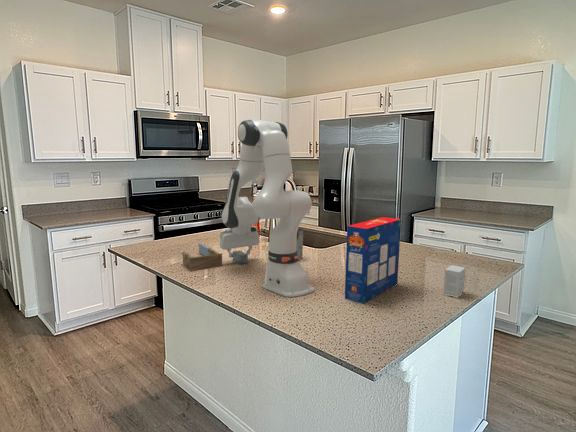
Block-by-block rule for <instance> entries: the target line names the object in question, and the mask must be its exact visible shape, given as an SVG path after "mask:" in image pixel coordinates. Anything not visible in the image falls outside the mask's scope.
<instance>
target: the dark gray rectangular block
mask: <svg viewBox="0 0 576 432" xmlns="http://www.w3.org/2000/svg"><path fill="white" fill-rule="evenodd" d="M232 253H233V257H232V262H234V263H236V264H237V263H238V265H239V266H244V264H245V265H248V264H249V255H248V254H246V253H245V252H243V251H242V250H233V251H232Z"/></svg>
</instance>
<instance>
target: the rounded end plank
mask: <svg viewBox="0 0 576 432" xmlns="http://www.w3.org/2000/svg"><path fill="white" fill-rule="evenodd" d="M210 248H211V247H209V246H207V245H205V244H204V243H200V242H199V243H198V253H199V254H201V255H202V256H206V255H208V249H210Z"/></svg>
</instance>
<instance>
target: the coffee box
mask: <svg viewBox="0 0 576 432" xmlns="http://www.w3.org/2000/svg"><path fill="white" fill-rule="evenodd" d="M303 242H304V228H300V227H299V228H298V231H297V239H296V251H297V254H298V256H299V257H298V258H299V261H301V260H302V259H303V255H304V254H303V247H304V246H303V245H304V243H303ZM301 258H302V259H301ZM300 259H301V260H300Z"/></svg>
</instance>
